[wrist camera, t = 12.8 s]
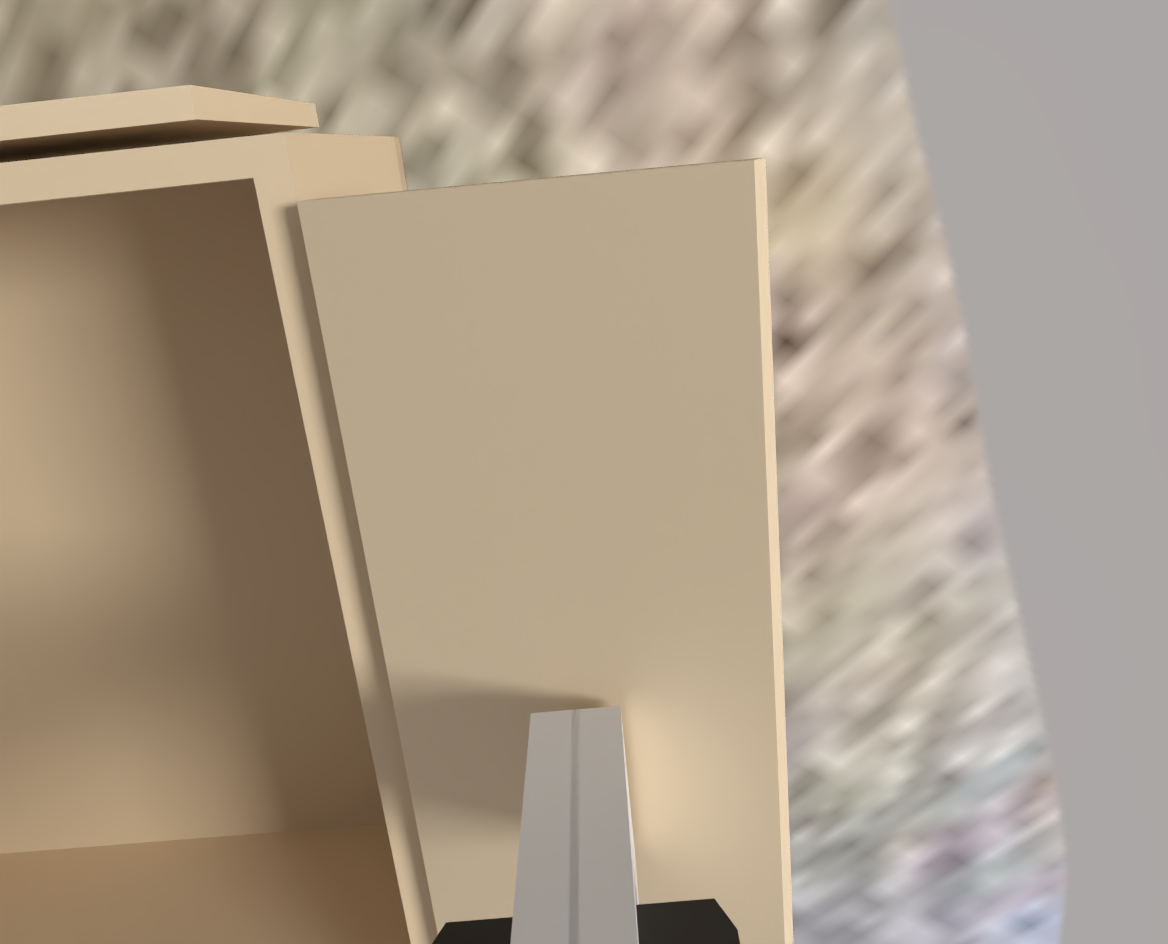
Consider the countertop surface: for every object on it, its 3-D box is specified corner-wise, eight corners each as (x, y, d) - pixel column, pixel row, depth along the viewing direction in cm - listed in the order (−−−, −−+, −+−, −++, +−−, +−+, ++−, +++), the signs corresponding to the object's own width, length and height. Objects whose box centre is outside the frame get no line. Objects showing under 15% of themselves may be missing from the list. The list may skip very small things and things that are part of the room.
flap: (478, 1059, 20) (802, 1184, 17) (465, 1080, 20) (795, 1211, 17) (319, 198, 15) (765, 157, 11) (296, 201, 14) (753, 159, 11)
